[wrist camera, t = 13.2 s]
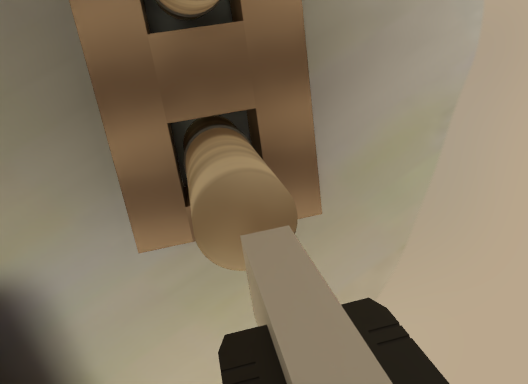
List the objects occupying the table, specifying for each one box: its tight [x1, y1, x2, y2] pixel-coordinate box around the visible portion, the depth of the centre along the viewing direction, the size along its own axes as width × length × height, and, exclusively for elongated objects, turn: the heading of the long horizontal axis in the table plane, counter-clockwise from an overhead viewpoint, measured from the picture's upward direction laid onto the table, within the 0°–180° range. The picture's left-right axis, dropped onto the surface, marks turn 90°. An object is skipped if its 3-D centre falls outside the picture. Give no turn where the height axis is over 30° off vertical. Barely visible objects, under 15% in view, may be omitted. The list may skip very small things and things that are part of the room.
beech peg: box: [183, 115, 297, 271], centre depth 22 cm, size 4×4×14 cm
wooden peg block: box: [69, 0, 322, 253], centre depth 20 cm, size 20×12×14 cm, turn 8°
